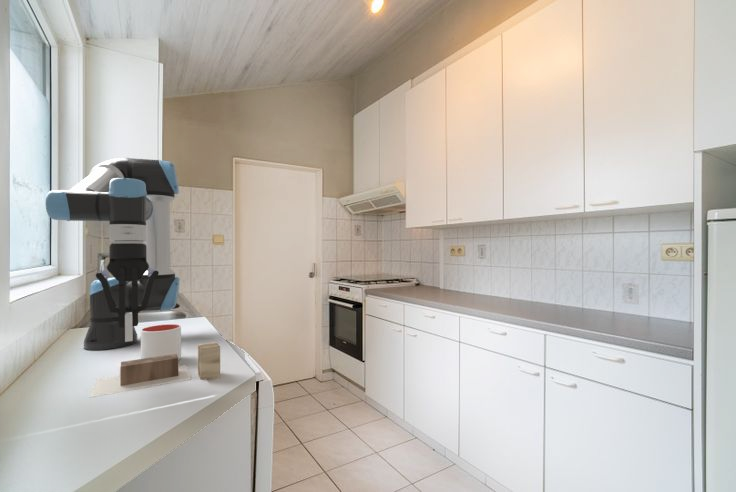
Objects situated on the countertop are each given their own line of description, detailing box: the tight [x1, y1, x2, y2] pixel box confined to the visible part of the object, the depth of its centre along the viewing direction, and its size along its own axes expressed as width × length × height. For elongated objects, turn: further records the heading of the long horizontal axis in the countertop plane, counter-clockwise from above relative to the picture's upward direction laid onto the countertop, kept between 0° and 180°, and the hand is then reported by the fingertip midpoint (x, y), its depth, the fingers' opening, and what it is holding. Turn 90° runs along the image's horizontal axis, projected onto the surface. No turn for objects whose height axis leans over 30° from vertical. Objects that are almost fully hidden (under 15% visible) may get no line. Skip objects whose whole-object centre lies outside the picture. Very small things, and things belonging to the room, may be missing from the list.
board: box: [89, 364, 193, 398], centre depth 89 cm, size 13×20×1 cm, turn 122°
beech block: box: [197, 341, 221, 381], centre depth 92 cm, size 4×4×8 cm
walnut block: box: [119, 354, 179, 386], centre depth 90 cm, size 4×4×12 cm
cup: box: [140, 323, 182, 361], centre depth 104 cm, size 10×10×10 cm
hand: (128, 340), depth 88 cm, fingers closed
